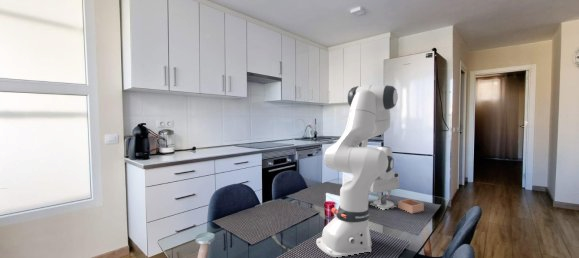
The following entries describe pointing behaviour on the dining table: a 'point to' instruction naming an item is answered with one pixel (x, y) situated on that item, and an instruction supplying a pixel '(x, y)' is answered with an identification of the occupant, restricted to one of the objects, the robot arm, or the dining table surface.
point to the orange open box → (411, 206)
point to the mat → (380, 207)
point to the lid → (383, 203)
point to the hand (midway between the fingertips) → (383, 198)
